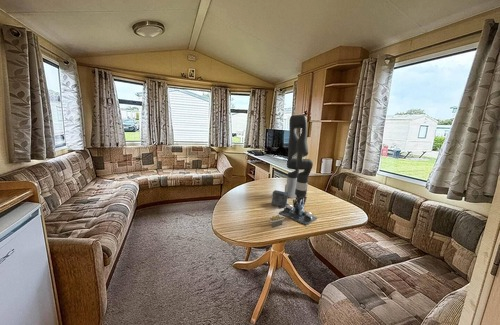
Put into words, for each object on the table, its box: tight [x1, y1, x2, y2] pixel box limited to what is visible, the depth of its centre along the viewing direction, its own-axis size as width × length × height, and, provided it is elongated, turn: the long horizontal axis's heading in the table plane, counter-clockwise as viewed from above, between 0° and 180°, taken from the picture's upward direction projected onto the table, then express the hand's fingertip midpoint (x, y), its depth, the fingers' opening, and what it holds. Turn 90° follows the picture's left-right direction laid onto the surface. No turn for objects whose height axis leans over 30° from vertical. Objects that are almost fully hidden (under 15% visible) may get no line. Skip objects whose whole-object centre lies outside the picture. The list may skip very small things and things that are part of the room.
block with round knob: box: [294, 203, 305, 215], centre depth 145 cm, size 7×4×7 cm, turn 45°
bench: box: [278, 203, 318, 226], centre depth 146 cm, size 21×14×6 cm, turn 45°
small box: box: [271, 189, 288, 209], centre depth 163 cm, size 11×6×10 cm, turn 65°
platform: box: [269, 214, 286, 228], centre depth 132 cm, size 12×18×7 cm, turn 121°
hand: (298, 212), depth 146 cm, fingers closed on block with round knob, 4 cm apart
